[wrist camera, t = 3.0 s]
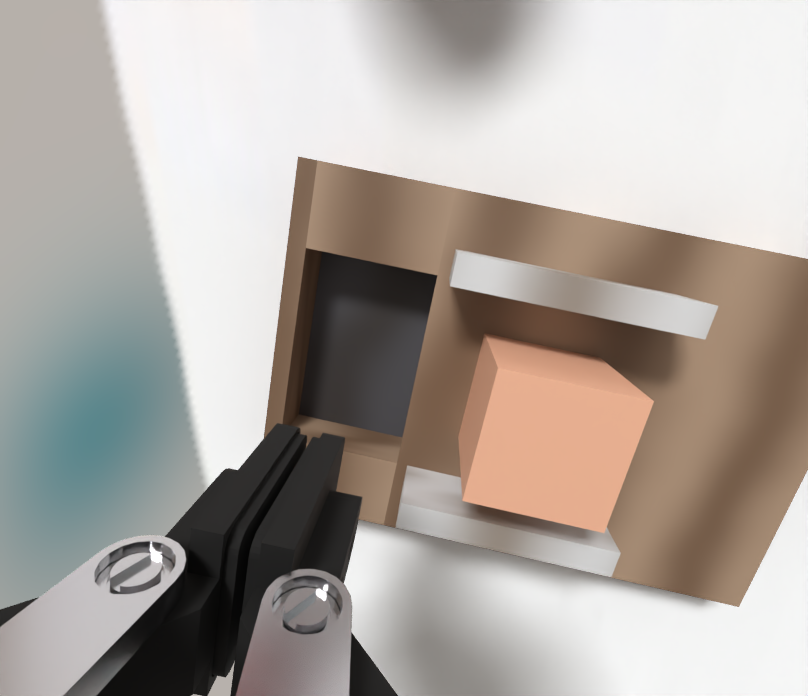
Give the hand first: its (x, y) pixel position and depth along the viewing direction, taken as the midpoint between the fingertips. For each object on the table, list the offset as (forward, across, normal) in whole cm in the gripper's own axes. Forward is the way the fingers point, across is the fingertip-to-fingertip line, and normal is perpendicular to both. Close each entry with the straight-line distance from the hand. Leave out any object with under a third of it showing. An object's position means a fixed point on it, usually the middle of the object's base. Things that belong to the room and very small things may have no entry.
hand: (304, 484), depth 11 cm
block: (+9, -7, 0) cm, 12 cm away
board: (+12, -8, 0) cm, 15 cm away
